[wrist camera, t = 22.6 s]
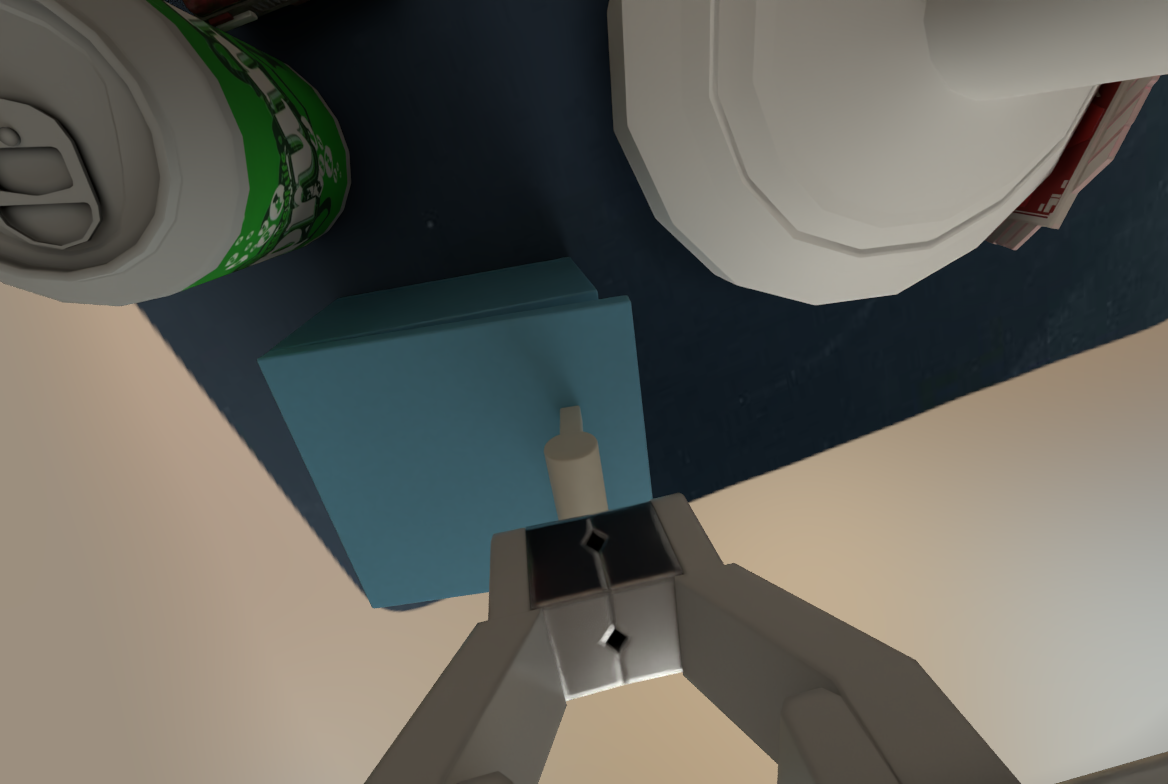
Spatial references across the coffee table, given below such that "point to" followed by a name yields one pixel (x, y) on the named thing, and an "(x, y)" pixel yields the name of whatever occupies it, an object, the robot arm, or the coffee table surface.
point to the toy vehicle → (234, 10)
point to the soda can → (152, 152)
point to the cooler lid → (465, 437)
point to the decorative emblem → (1078, 160)
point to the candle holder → (857, 125)
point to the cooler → (447, 302)
